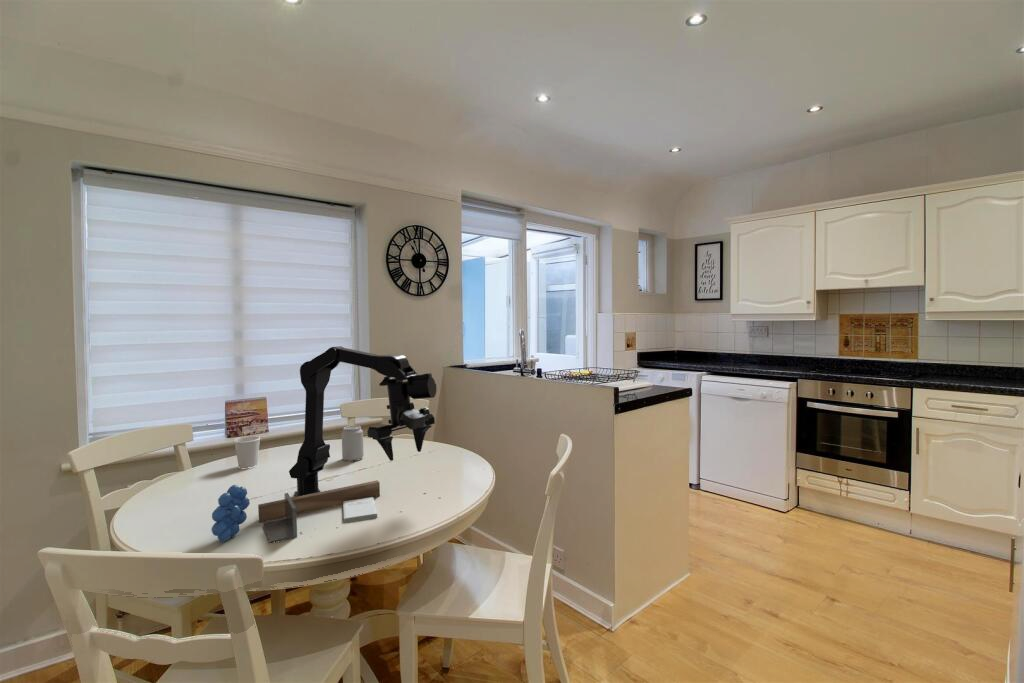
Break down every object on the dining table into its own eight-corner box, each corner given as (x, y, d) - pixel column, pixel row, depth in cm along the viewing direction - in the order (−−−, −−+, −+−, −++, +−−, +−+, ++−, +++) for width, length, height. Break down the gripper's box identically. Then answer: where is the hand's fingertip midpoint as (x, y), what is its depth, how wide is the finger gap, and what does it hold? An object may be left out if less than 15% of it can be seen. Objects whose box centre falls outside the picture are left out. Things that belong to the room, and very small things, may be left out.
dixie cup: (263, 462, 172) (262, 435, 172) (259, 468, 164) (258, 440, 164) (237, 464, 169) (235, 437, 169) (232, 471, 161) (231, 442, 161)
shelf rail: (258, 519, 121) (258, 504, 121) (377, 493, 139) (377, 480, 138) (259, 522, 120) (259, 507, 119) (379, 495, 137) (379, 482, 137)
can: (338, 460, 173) (337, 427, 173) (355, 455, 180) (354, 423, 179) (350, 463, 169) (349, 430, 169) (368, 458, 175) (367, 426, 175)
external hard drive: (344, 524, 119) (343, 506, 131) (377, 519, 122) (373, 502, 133) (343, 518, 119) (343, 500, 130) (377, 513, 122) (373, 496, 133)
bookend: (263, 525, 118) (262, 497, 118) (288, 519, 121) (287, 492, 121) (269, 543, 108) (268, 513, 108) (297, 537, 111) (296, 507, 111)
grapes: (232, 525, 118) (230, 478, 118) (257, 526, 117) (255, 478, 117) (196, 547, 106) (194, 495, 106) (224, 548, 106) (222, 496, 105)
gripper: (386, 407, 118) (393, 469, 119) (444, 394, 132) (450, 450, 132) (363, 406, 126) (369, 464, 126) (420, 394, 139) (426, 446, 140)
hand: (405, 456), depth 131 cm, fingers open, 9 cm apart
